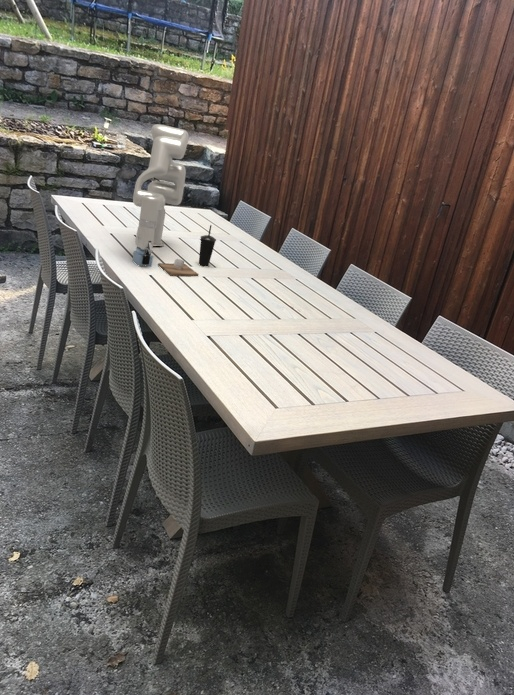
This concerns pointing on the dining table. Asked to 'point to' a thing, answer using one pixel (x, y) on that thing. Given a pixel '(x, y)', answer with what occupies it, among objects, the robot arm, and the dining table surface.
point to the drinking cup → (206, 249)
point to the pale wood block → (178, 264)
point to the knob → (141, 257)
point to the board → (174, 272)
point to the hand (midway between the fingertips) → (142, 261)
